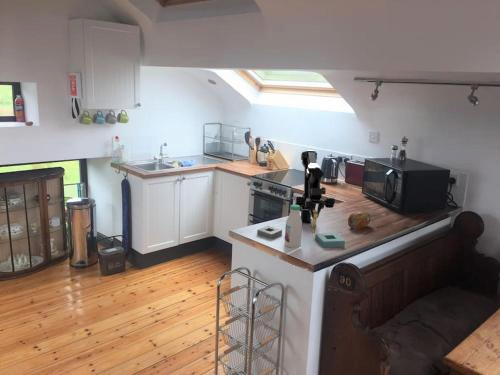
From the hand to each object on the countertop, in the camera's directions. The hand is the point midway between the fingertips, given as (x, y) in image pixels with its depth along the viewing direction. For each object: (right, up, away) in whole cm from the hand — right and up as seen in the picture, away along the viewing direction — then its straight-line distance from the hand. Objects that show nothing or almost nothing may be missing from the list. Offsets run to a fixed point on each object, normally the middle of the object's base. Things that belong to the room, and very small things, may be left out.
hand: (315, 217), depth 207 cm
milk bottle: (-11, -14, 0) cm, 18 cm away
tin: (+28, -8, +31) cm, 43 cm away
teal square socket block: (+8, -13, +6) cm, 16 cm away
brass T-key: (0, -7, +3) cm, 8 cm away
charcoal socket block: (-21, -10, +12) cm, 26 cm away
